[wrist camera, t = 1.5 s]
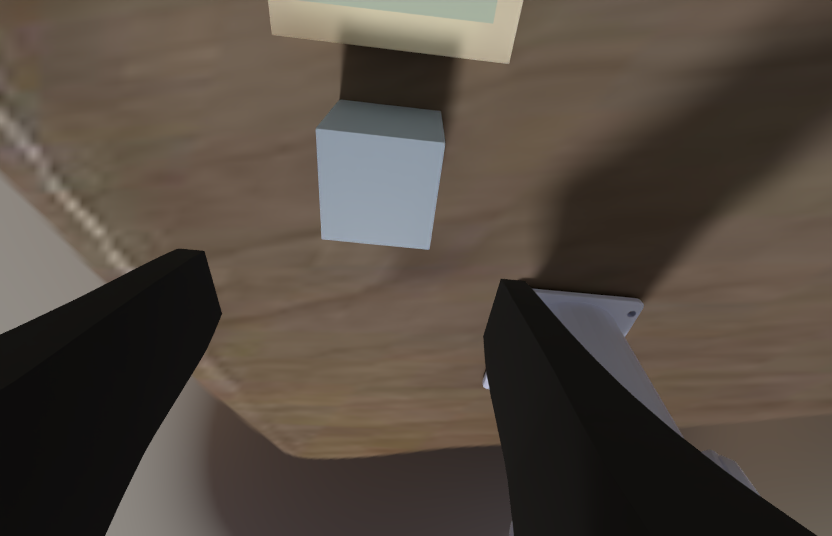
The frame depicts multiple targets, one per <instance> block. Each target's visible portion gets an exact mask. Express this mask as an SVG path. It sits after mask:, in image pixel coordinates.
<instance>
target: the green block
mask: <svg viewBox="0 0 832 536" xmlns="http://www.w3.org/2000/svg"><path fill="white" fill-rule="evenodd" d="M299 1H307V2H316V3H324V4H333V5H341V6H349V7H358V8H366V9H375V10H383V11H391V12H400V13H408V14H416V15H425V16H433V17H442V18H450V19H458V20H467V21H475V22H484V23H492V24H493V22H494V17H495V11H496V6H497V0H299Z"/></svg>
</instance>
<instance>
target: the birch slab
mask: <svg viewBox="0 0 832 536" xmlns="http://www.w3.org/2000/svg"><path fill="white" fill-rule="evenodd" d="M268 3H269V12H270V22H271V31H272V35H278V36H286V37H294V38H303V39H311V40H319V41H327V42H335V43H343V44H351V45H359V46H368V47H376V48H384V49H392V50H400V51H408V52H416V53H425V54H433V55H441V56H449V57H457V58H465V59H473V60H481V61H490V62H498V63H506V64H509V62H510V57H511V53H512V48H513V44H514V39H515V35H516V30H517V26H518V21H519V17H520V12H521V8H522V3H523V0H497V6H496V11H495V17H494V22H493V24H492V23H484V22H475V21H467V20H458V19H450V18H442V17H433V16H425V15H416V14H408V13H400V12H391V11H383V10H375V9H366V8H358V7H349V6H341V5H333V4H324V3H316V2H307V1H299V0H268Z"/></svg>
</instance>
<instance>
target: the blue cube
mask: <svg viewBox="0 0 832 536" xmlns="http://www.w3.org/2000/svg"><path fill="white" fill-rule="evenodd" d="M316 142H317V160H318V179H319V197H320V215H321V234H322V239H326V240H336V241H346V242H356V243H366V244H377V245H387V246H397V247H407V248H417V249H428V250H429V248H430V241H431V235H432V228H433V221H434V215H435V208H436V201H437V195H438V188H439V182H440V175H441V168H442V162H443V155H444V149H445V137H444V130H443V123H442V116H441V111H436V110H427V109H418V108H410V107H401V106H392V105H384V104H375V103H366V102H358V101H349V100H340V99H339V101H338V102H337V103H336V104H335V106H334V107H333V108H332V109H331V110H330V112H329V113H328V114H327V115H326V117H325V118H324V119H323V120H322V121H321V123H320V124H319V125H318V126H317V128H316Z"/></svg>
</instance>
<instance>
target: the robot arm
mask: <svg viewBox="0 0 832 536" xmlns="http://www.w3.org/2000/svg"><path fill="white" fill-rule="evenodd" d="M643 307H644V305H643V303H642V301H641V300H640V299H637V298H629V297H618V296H607V295H596V294H586V293H575V292H564V291H553V290H542V289H532V288H531V287H530V286H529V285H528V284H527V283H526V282H525V281H519V280H508V279H501V280H500V284H499V287H498V290H497V293H496V297H495V300H494V303H493V306H492V310H491V313H490V316H489V319H488V323H487V326H486V329H485V333H484V336H483V338H484V352H485V364H486V373H485V376H484V379H483V386H484V388H486V389H490V394H491V399H492V404H493V408H494V413H495V418H496V423H497V427H498V432H499V437H500V442H501V446H502V451H503V456H504V461H505V467H506V472H507V479H508V487H509V495H510V504H511V513H512V522H511V526H510V532H509V536H817V535H815V534H814V533H812V532H811V531H809V530H808V529H807V528H805V527H804V526H802V525H801V524H799V523H798V522H796V521H795V520H794V519H792V518H791V517H789V516H787V515H786V514H785V513H784V512H782V511H780V510H779V509H778V508H776V507H775V506H773V505H772V504H771V503H769V502H768V501H766V500H765V499H763V498H762V497H761V496H760V495H759V493H758V492H757V490H756V489H755V488H754V486H753V485H752V483H751V482H750V480H749V479H748V478H747V476H746V475H745V473H744V472H743V471H742V469H741V468H740V467H739V465H738V464H737V463H736V462H735V461H734V460H732V459H729V458H727V457H724V456H722V455H718V454H717V453H716V452H715V451H713V450H706V451H702V452H700V451H699V450H698V449H696V448H695V447H694V446H692V445H691V444H690V443H689V442H687V441H686V440H685V439H684V437H683V436H682V434H681V432H680V430H679V429H678V427H677V425H676V424H675V422H674V420H673V419H672V417H671V415H670V413H669V412H668V410H667V408H666V407H665V405H664V403H663V402H662V400H661V398H660V396H659V395H658V393H657V391H656V390H655V388H654V386H653V385H652V383H651V381H650V380H649V378H648V376H647V374H646V373H645V371H644V369H643V368H642V366H641V364H640V363H639V361H638V359H637V357H636V356H635V354H634V352H633V351H632V349H631V347H630V346H629V344H628V342H627V340H626V339H625V336H626V334H627V333H628V331H629V330H630V328H631V327H632V325H633V323H634V322H635V320H636V319H637V317H638V315H639V314H640V312H641V311H642V309H643ZM631 311H632V312H631ZM629 312H630V313H629ZM221 315H222V312H221V308H220V305H219V301H218V298H217V294H216V291H215V287H214V284H213V280H212V276H211V273H210V269H209V266H208V262H207V259H206V255H205V252H204V251H199V250H188V249H176V250H174V251H171V252H169V253H167V254H165V255H162V256H160V257H158V258H156V259H154V260H152V261H150V262H148V263H146V264H144V265H142V266H140V267H138V268H136V269H134V270H132V271H130V272H128V273H126V274H124V275H123V276H121V277H119V278H117V279H115V280H113V281H111V282H109V283H107V284H105V285H103V286H101V287H99V288H97V289H95V290H93V291H91V292H89V293H87V294H85V295H83V296H81V297H79V298H77V299H75V300H73V301H71V302H69V303H67V304H65V305H63V306H60V307H58V308H56V309H54V310H53V311H50V312H48V313H46V314H44V315H42V316H39V317H37V318H35V319H33V320H31V321H29V322H27V323H25V324H23V325H20V326H18V327H16V328H14V329H12V330H9V331H7V332H5V333H3V334H0V536H105V535H106V532H107V530H108V528H109V526H110V524H111V521H112V519H113V517H114V515H115V513H116V510H117V508H118V506H119V504H120V502H121V500H122V498H123V495H124V493H125V491H126V489H127V487H128V485H129V483H130V481H131V479H132V477H133V475H134V473H135V471H136V469H137V467H138V465H139V463H140V461H141V459H142V457H143V455H144V453H145V451H146V449H147V447H148V445H149V444H150V442H151V440H152V438H153V437H154V435H155V433H156V432H157V430H158V429H159V427H160V425H161V424H162V422H163V420H164V419H165V417H166V416H167V414H168V412H169V411H170V409H171V407H172V406H173V404H174V403H175V401H176V399H177V398H178V396H179V394H180V393H181V391H182V390H183V388H184V386H185V385H186V383H187V381H188V380H189V378H190V377H191V375H192V373H193V372H194V370H195V368H196V367H197V365H198V363H199V362H200V360H201V358H202V357H203V355H204V353H205V351H206V350H207V348H208V345H209V343H210V341H211V339H212V337H213V334H214V332H215V330H216V327H217V325H218V322H219V320H220V317H221Z"/></svg>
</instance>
